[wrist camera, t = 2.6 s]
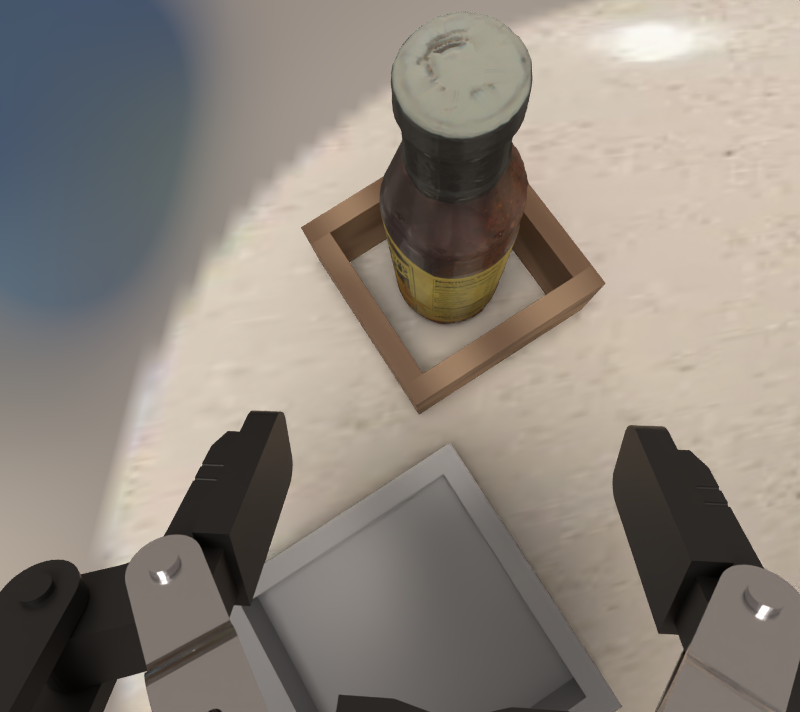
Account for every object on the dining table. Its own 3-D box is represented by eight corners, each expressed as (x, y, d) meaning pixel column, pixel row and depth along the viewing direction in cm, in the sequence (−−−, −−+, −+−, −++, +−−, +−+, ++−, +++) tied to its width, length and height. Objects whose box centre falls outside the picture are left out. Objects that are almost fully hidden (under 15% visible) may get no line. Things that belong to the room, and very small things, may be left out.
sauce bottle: (406, 230, 36) (371, -52, 16) (502, 242, 35) (585, -36, 16) (390, 326, 34) (331, 146, 15) (489, 340, 34) (562, 172, 14)
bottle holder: (472, 165, 36) (478, 118, 31) (581, 309, 34) (605, 283, 29) (319, 260, 36) (300, 227, 31) (419, 414, 33) (416, 405, 28)
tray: (448, 444, 33) (450, 442, 29) (600, 678, 30) (622, 706, 26) (234, 584, 32) (210, 598, 28) (368, 839, 29) (359, 889, 25)
